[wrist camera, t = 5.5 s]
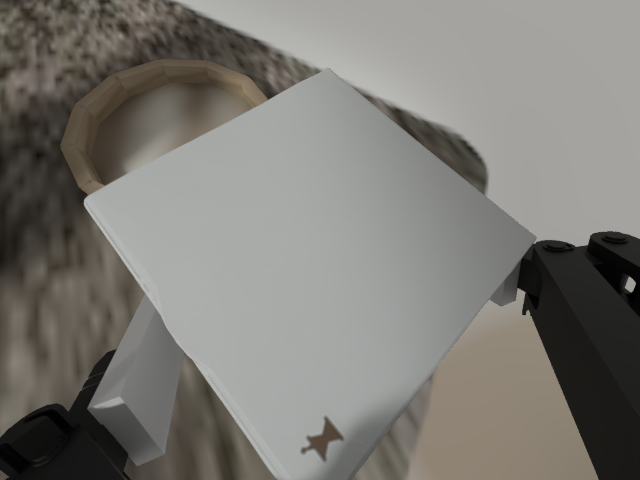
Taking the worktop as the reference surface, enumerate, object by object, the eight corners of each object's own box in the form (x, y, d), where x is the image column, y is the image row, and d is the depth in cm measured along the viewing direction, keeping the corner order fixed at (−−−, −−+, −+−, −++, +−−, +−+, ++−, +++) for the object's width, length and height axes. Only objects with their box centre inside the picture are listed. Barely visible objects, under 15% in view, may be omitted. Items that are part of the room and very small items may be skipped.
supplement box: (384, 312, 21) (558, 240, 7) (297, 402, 18) (314, 566, 4) (308, 231, 23) (332, 56, 9) (219, 301, 20) (62, 195, 6)
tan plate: (63, 230, 21) (36, 216, 19) (106, 80, 27) (90, 56, 25) (279, 220, 23) (278, 207, 21) (273, 83, 30) (271, 62, 27)
